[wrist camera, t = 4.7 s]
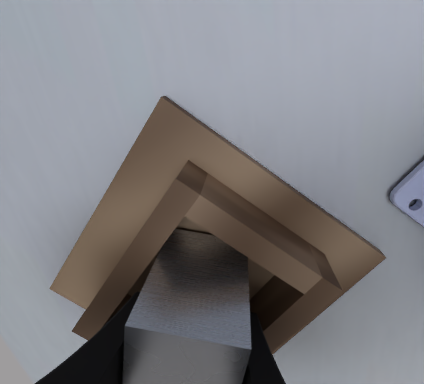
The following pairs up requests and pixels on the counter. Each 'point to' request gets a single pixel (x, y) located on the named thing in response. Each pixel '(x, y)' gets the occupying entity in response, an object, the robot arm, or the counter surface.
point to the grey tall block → (190, 315)
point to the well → (211, 229)
